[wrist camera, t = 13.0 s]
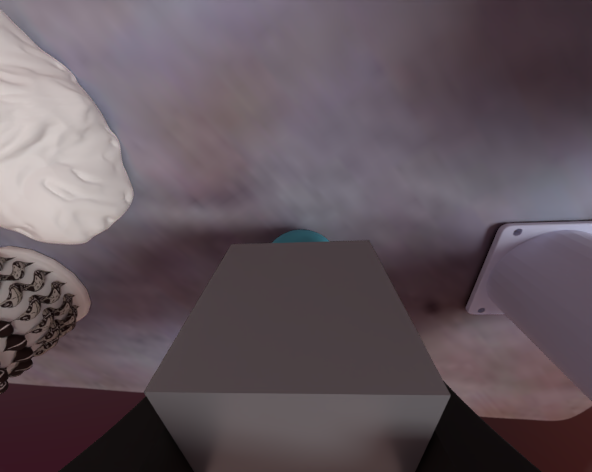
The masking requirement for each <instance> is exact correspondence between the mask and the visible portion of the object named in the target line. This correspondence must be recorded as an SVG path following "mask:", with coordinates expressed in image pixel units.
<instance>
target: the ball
mask: <svg viewBox="0 0 592 472" xmlns="http://www.w3.org/2000/svg"><path fill="white" fill-rule="evenodd" d="M294 242H330V241H329V240H327V239H326V238H325V237H324V236H322V235H320V234H318V233H316V232H313V231H310V230H293V231H289V232H287V233H284V234H282V235H281V236H279V237H278V238H276V239H275V240H274V241H273V242H272V243H294Z"/></svg>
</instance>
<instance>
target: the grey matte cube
mask: <svg viewBox="0 0 592 472" xmlns="http://www.w3.org/2000/svg"><path fill="white" fill-rule="evenodd" d="M144 393H145V395H146V396H147V398H148V400H149V401H150V403H151V404H152V406H153V407H154V409H155V411H156V412H157V414H158V415H159V417H160V419H161V420H162V422H163V423H164V425H165V426H166V428H167V430H168V431H169V433H170V434H171V436H172V437H173V439H174V441H175V442H176V444H177V445H178V447H179V449H180V450H181V452H182V453H183V455H184V456H185V458H186V460H187V461H188V463H189V464H190V466H191V467H192V469H193V471H194V472H415V471H416V469H417V467H418V464H419V462H420V460H421V458H422V456H423V454H424V452H425V450H426V447H427V445H428V443H429V441H430V439H431V437H432V435H433V432H434V430H435V428H436V426H437V424H438V422H439V420H440V417H441V415H442V413H443V411H444V409H445V407H446V405H447V402H448V400H449V398H450V396H451V395H450V393H449V391H448V389H447V387H446V385H445V384H444V382H443V380H442V378H441V376H440V374H439V372H438V370H437V368H436V366H435V365H434V363H433V361H432V359H431V357H430V355H429V353H428V351H427V349H426V347H425V346H424V344H423V342H422V340H421V338H420V336H419V334H418V332H417V330H416V328H415V327H414V325H413V323H412V321H411V319H410V317H409V315H408V313H407V311H406V309H405V308H404V306H403V304H402V302H401V300H400V298H399V296H398V294H397V292H396V291H395V289H394V287H393V285H392V283H391V281H390V279H389V277H388V275H387V273H386V272H385V270H384V268H383V266H382V264H381V262H380V260H379V258H378V256H377V254H376V253H375V251H374V249H373V247H372V245H371V243H370V241H369V240H367V241H330V242H294V243H257V244H231V246H230V247H229V249H228V251H227V252H226V254H225V256H224V258H223V259H222V261H221V263H220V264H219V266H218V268H217V269H216V271H215V273H214V274H213V276H212V278H211V280H210V281H209V283H208V285H207V286H206V288H205V290H204V291H203V293H202V295H201V296H200V298H199V300H198V301H197V303H196V305H195V307H194V308H193V310H192V312H191V313H190V315H189V317H188V318H187V320H186V322H185V323H184V325H183V327H182V328H181V330H180V332H179V334H178V335H177V337H176V339H175V340H174V342H173V344H172V345H171V347H170V349H169V350H168V352H167V354H166V355H165V357H164V359H163V361H162V362H161V364H160V366H159V367H158V369H157V371H156V372H155V374H154V376H153V377H152V379H151V381H150V383H149V384H148V386H147V388H146V389H145V391H144Z"/></svg>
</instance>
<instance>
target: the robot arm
mask: <svg viewBox="0 0 592 472" xmlns="http://www.w3.org/2000/svg"><path fill="white" fill-rule="evenodd" d="M515 230H516V231H515ZM514 231H515V232H514ZM513 232H514V233H513ZM466 310H467V312H468V313H469V314H505V315H506V316H507V317H508V318H509V319H510V320H511V321H512V322H513V323H514V324H515V325H516V326H517V327H518V328H519V329H520V330H521V331H522V332H523V333H524V334H525V335H526V336H527V337H528V338H529V339H530V340H531V341H532V342H533V343H534V344H535V345H536V346H537V347H538V348H539V349H540V350H541V351H542V352H543V353H544V354H545V355H546V356H547V357H548V358H549V359H550V360H551V361H552V362H553V363H554V364H555V365H556V366H557V367H558V368H559V369H560V370H561V371H562V372H563V373H564V374H565V375H566V376H567V377H568V378H569V379H570V380H571V381H572V382H573V383H574V384H575V385H576V386H577V387H578V388H579V389H580V390H581V391H582V392H583V393H584V394H585V395H586V396H587V397H588V398H589V399H590V400H591V401H592V221H571V222H537V223H508V224H504V225H502V226H501V227H500V228H499V229H498V231H497V233H496V236H495V238H494V240H493V243H492V245H491V248H490V250H489V252H488V255H487V257H486V260H485V262H484V264H483V267H482V269H481V272H480V274H479V277H478V279H477V281H476V284H475V286H474V289H473V291H472V293H471V296H470V298H469V301H468V303H467V305H466ZM443 382H444V381H443ZM444 384H445V385H446V387H447V389H448V391H449V393H450V395H451V396H450V398H449V400H448V402H447V405H446V407H445V409H444V411H443V413H442V415H441V417H440V420H439V422H438V424H437V426H436V428H435V430H434V432H433V435H432V437H431V439H430V441H429V443H428V445H427V447H426V450H425V452H424V454H423V456H422V458H421V460H420V462H419V464H418V467H417V469H416V471H415V472H541V471H540V470H539V469H538V468H536V467H535V466H534V465H533V464H531V463H530V462H529V461H528V460H527V459H526V458H525V457H523V456H522V455H521V454H520V453H519V452H518V451H517V450H516V449H514V448H513V447H512V446H511V445H510V444H509V443H508V442H506V441H505V440H504V439H503V438H502V437H501V436H499V435H498V434H497V433H496V432H495V431H494V430H493V429H492V428H491V427H490V426H489V425H487V424H486V423H485V422H484V421H483V420H482V419H481V418H480V417H479V416H478V415H477V414H476V413H475V412H474V411H473V410H472V409H471V408H470V407H468V406H467V405H466V404H465V403H464V402H463V401H462V400H461V399H460V398H459V397H458V396H457V395H456V394H455V393H454V392H453V391H452V389H451V388H450V387H449V386H448V385H447V384H446V383H445V382H444ZM58 472H194V471H193V469H192V467H191V466H190V464H189V463H188V461H187V460H186V458H185V456H184V455H183V453H182V452H181V450H180V449H179V447H178V445H177V444H176V442H175V441H174V439H173V437H172V436H171V434H170V433H169V431H168V430H167V428H166V426H165V425H164V423H163V422H162V420H161V419H160V417H159V415H158V414H157V412H156V411H155V409H154V407H153V406H152V404H151V403H150V401H149V400H148V398H147V396H146V397H145V398H144V399H143V400H142V401H141V402H140V403H138V404H137V406H135V407H134V408H133V409H132V410H131V411H130V412H129V413H128V414H126V415H125V416H124V417H123V418H122V419H121V420H120V421H119V422H118V423H117V424H116V425H114V426H113V427H112V428H111V429H110V430H109V431H108V432H106V433H105V434H104V435H103V436H102V437H101V438H99V439H98V440H97V441H96V442H94V443H93V444H92V445H91V446H89V447H88V448H87V449H86V450H85V451H83V452H82V453H81V454H80V455H79V456H77V457H76V458H75V459H74V460H72V461H71V462H70V463H69V464H68V465H66V466H65V467H64V468H62V469H61V470H60V471H58Z"/></svg>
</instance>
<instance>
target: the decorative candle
mask: <svg viewBox="0 0 592 472" xmlns="http://www.w3.org/2000/svg"><path fill="white" fill-rule="evenodd" d="M90 305H91V300H90V297H89V294H88V291H87V289H86V287H85V286H84V285H83V284H82V283H81V281H80V280H79V279H78V278H77V277H76V275H75V274H74V273H73V272H71V271H70V270H68V269H67V268H66V267H64V266H63V265H62V264H60V263H59V262H57V261H56V260H55V259H52V258H50V257H48V256H45V255H43V254H41V253H39V252H36V251H34V250H31V249H26V248H20V247H14V246H6V247H1V248H0V394H2V393H4V392H5V391H6V390H7V388H8V382H7V379H8V377H16V376H19V375H21V374H22V373H23V372H24V371H25V370H28V369H29V368H31V366H32V365H33V362H32V360H31V358H32V357H35V356H39V355H42V354H44V353H45V352H47V351H48V350H49V349H51V348H53V347H54V346H55V345H56V344H57V343H58V341H59V338H60V337H62V336H64V335H65V334H66V333H67V332H69V331H71V330H73V328H74V327H75V325H76V322H77V321H79V320H80V319H82V318H83V317H85V316H86V315H87V314H88V312H89V309H90ZM43 343H44V344H43Z"/></svg>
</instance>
